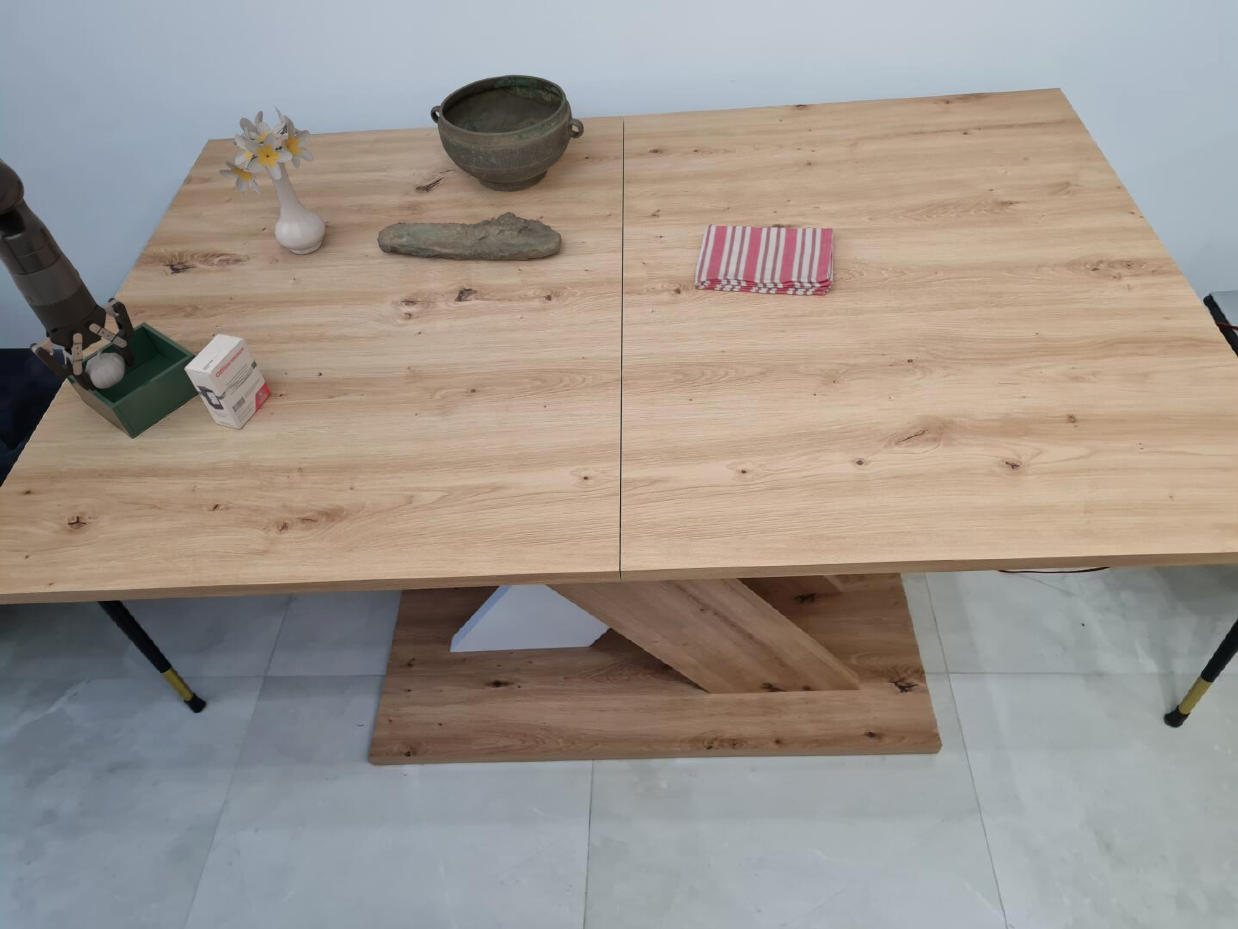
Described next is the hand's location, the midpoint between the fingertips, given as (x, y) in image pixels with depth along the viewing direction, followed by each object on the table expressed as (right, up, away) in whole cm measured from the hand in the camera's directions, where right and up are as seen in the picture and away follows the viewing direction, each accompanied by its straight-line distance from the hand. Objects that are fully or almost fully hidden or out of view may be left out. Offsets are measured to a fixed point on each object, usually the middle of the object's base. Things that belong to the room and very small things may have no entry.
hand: (110, 376), depth 138 cm
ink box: (+19, -5, +4) cm, 20 cm away
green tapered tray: (+2, -2, +8) cm, 8 cm away
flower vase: (+19, +27, +33) cm, 47 cm away
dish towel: (+103, +21, +20) cm, 107 cm away
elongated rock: (+50, +27, +29) cm, 64 cm away
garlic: (0, -1, +1) cm, 1 cm away
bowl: (+56, +46, +46) cm, 86 cm away
